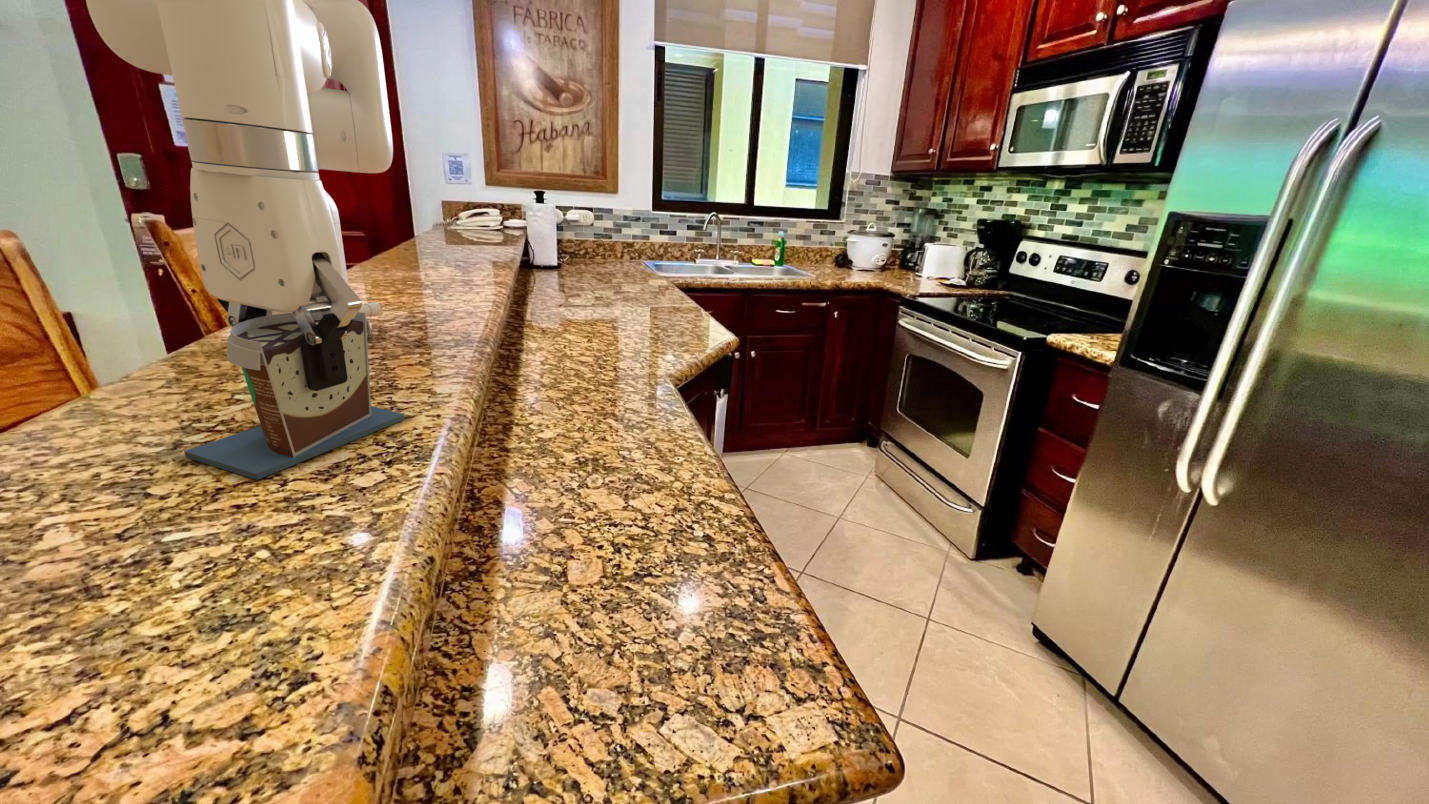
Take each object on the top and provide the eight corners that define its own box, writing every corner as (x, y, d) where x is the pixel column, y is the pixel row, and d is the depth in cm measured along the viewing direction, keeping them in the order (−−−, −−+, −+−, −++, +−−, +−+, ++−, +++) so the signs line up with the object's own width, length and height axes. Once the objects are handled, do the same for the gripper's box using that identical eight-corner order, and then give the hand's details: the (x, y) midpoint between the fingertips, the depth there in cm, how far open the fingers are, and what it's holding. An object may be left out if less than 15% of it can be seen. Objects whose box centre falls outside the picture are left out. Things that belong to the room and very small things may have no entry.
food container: (323, 402, 55) (307, 304, 52) (381, 410, 55) (369, 311, 52) (206, 455, 44) (174, 333, 40) (278, 465, 44) (253, 343, 40)
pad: (343, 403, 57) (342, 398, 57) (405, 419, 55) (404, 413, 55) (185, 457, 44) (183, 450, 44) (257, 480, 42) (255, 473, 42)
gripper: (115, 140, 40) (176, 371, 47) (292, 159, 36) (332, 412, 42) (228, 150, 47) (268, 351, 53) (388, 168, 43) (411, 385, 49)
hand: (296, 376), depth 48 cm, fingers closed on food container, 6 cm apart
